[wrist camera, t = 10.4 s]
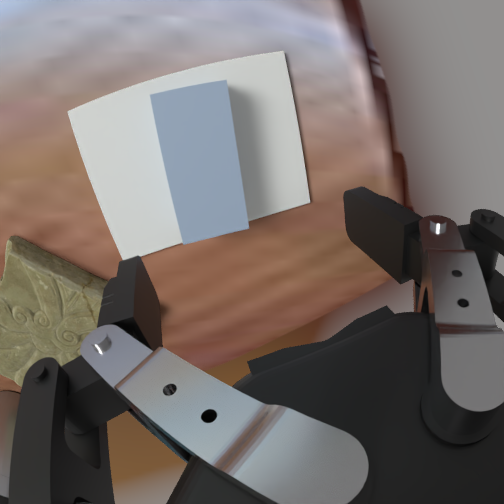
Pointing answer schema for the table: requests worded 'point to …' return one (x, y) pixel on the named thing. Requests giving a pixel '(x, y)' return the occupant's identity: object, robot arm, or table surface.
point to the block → (201, 159)
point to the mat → (150, 157)
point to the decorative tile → (43, 308)
